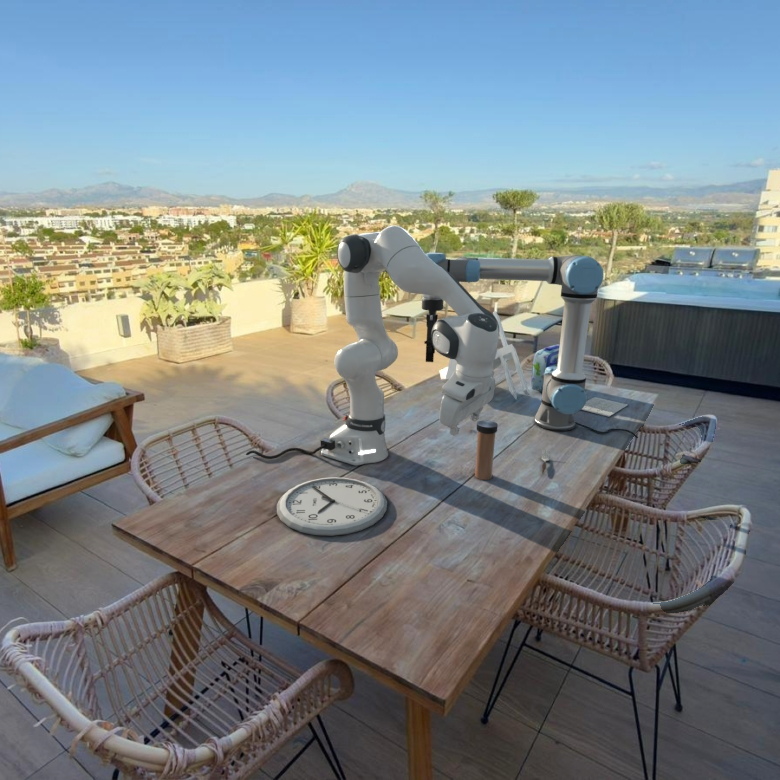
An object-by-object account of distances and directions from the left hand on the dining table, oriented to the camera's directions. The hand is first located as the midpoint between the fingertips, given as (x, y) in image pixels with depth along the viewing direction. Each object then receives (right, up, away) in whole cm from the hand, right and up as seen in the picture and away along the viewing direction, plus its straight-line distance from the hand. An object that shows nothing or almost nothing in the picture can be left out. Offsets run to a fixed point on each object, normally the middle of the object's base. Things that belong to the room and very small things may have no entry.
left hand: (464, 426), depth 134 cm
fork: (+31, -15, +35) cm, 49 cm away
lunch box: (+58, +10, +115) cm, 130 cm away
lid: (+10, -1, +22) cm, 24 cm away
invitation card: (+72, +2, +92) cm, 117 cm away
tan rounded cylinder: (+10, -17, +27) cm, 33 cm away
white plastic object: (+23, +8, +109) cm, 111 cm away
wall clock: (-35, -22, +8) cm, 42 cm away
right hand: (-5, +21, +55) cm, 59 cm away
